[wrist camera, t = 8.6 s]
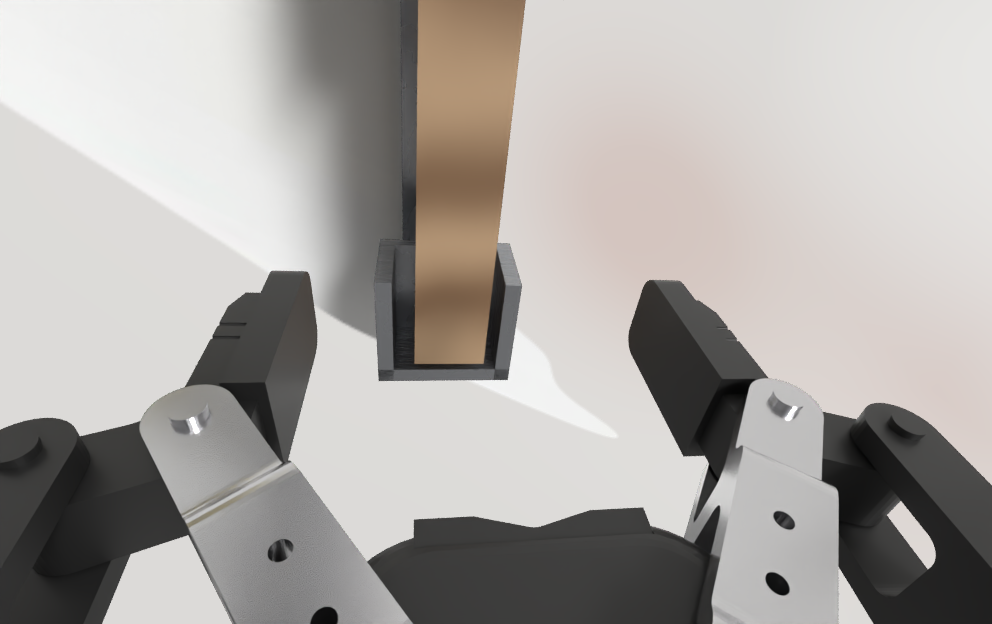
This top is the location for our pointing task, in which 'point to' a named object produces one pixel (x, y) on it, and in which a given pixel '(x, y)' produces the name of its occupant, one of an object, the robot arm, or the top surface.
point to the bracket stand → (400, 259)
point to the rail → (461, 168)
